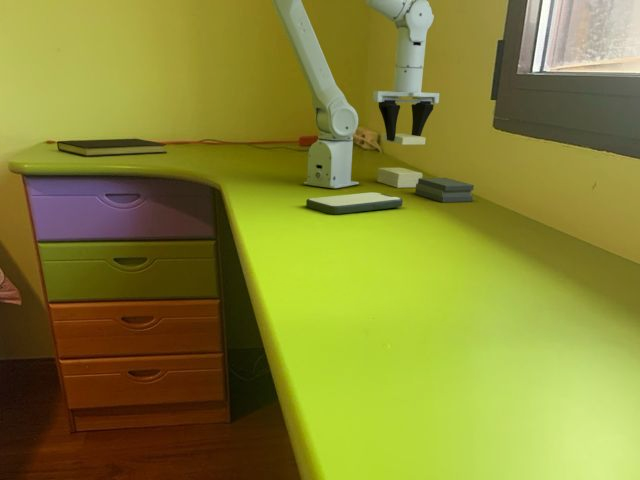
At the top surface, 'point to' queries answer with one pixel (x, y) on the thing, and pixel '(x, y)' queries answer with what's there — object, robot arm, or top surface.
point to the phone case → (354, 203)
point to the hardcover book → (111, 147)
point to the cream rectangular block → (398, 177)
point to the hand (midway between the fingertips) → (402, 140)
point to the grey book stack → (444, 189)
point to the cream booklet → (406, 139)
